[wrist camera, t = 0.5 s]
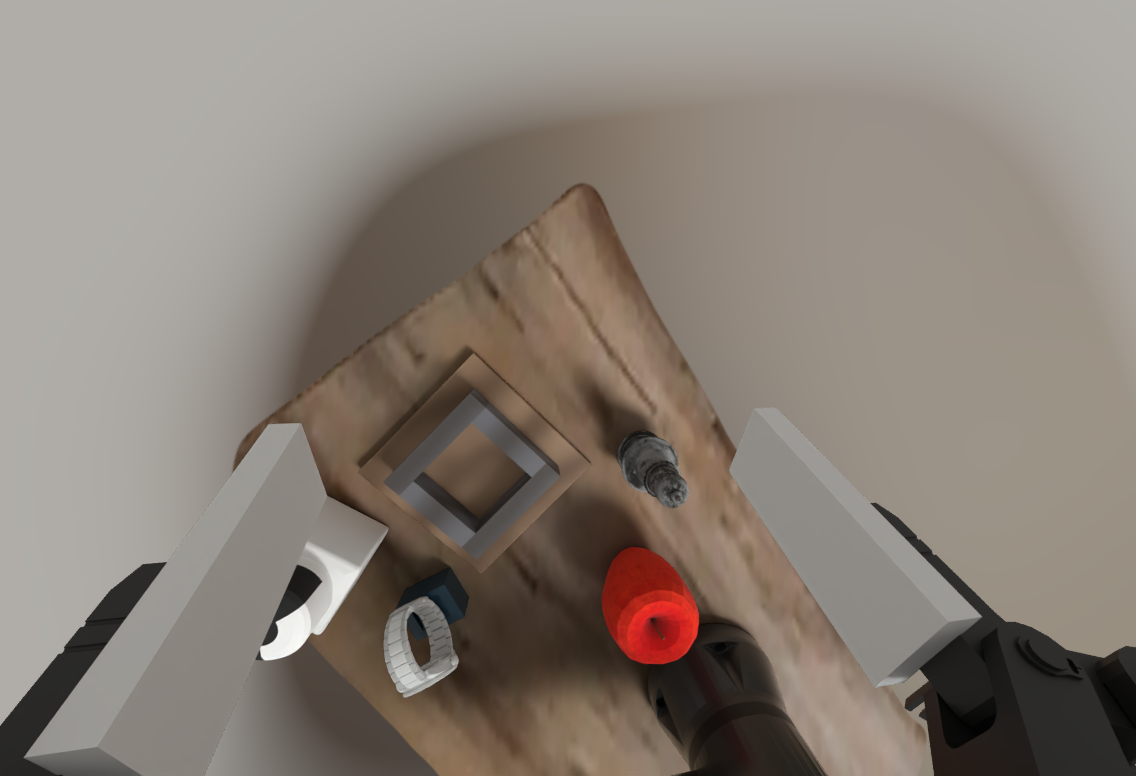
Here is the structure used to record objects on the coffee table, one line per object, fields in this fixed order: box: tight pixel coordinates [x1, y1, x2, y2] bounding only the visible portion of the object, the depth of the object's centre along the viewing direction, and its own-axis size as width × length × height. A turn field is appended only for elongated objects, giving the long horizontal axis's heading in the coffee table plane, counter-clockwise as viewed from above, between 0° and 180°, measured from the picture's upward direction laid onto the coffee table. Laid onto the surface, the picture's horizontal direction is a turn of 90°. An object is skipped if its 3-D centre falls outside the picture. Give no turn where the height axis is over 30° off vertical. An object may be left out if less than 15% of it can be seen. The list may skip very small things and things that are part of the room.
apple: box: [602, 547, 699, 664], centre depth 41 cm, size 9×9×11 cm
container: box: [255, 496, 388, 660], centre depth 37 cm, size 8×8×13 cm
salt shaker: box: [617, 431, 689, 508], centre depth 39 cm, size 6×6×12 cm
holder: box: [358, 353, 591, 574], centre depth 41 cm, size 17×17×4 cm
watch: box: [384, 567, 469, 697], centre depth 40 cm, size 6×8×11 cm
